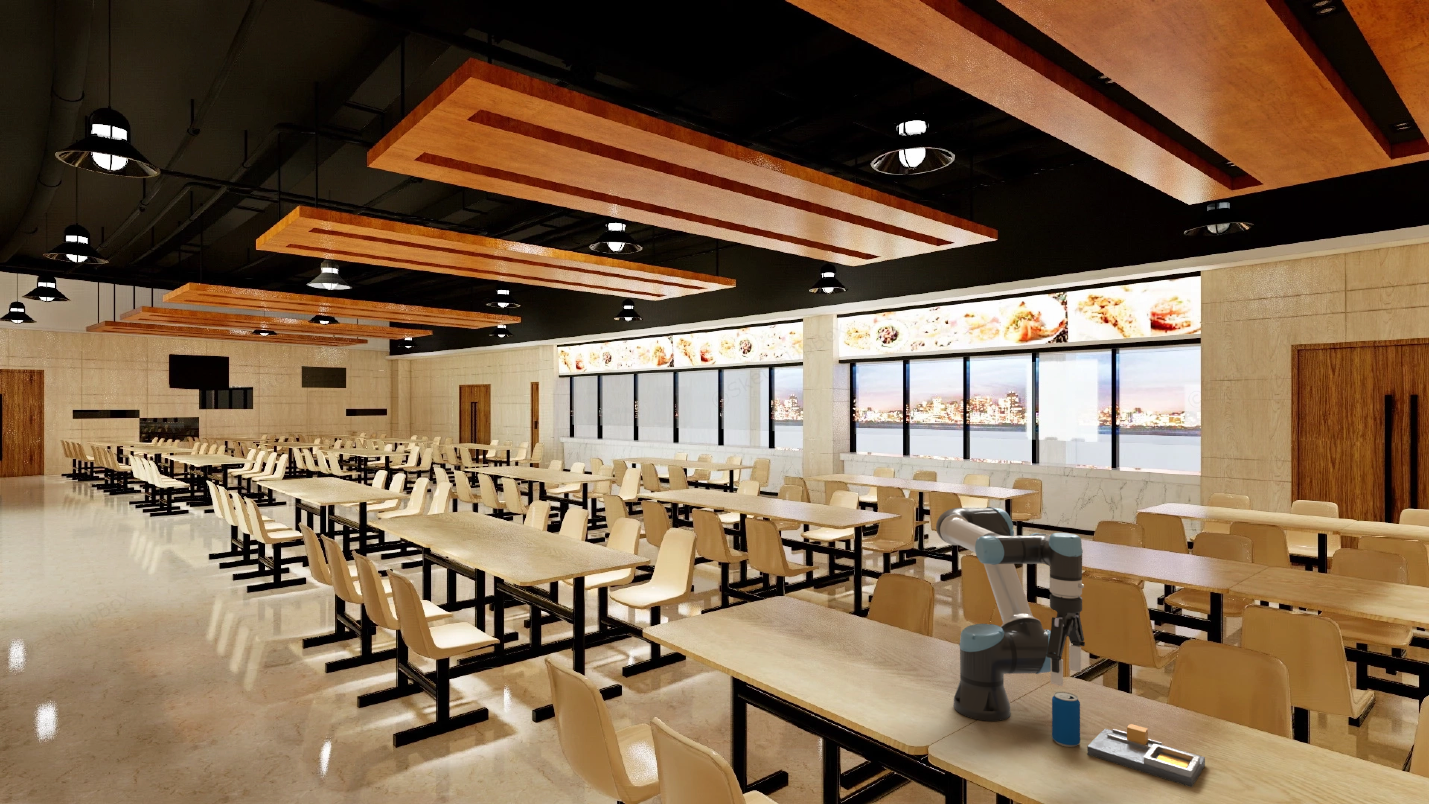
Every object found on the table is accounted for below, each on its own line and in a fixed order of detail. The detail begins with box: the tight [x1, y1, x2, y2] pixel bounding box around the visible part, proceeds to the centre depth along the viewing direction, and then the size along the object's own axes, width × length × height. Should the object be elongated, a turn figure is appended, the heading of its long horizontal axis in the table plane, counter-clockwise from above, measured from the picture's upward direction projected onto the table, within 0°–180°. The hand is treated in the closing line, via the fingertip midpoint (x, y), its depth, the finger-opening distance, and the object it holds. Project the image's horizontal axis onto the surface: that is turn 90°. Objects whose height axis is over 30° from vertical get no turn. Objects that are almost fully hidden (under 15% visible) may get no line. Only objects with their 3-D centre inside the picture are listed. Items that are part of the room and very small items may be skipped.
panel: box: [1086, 728, 1206, 788], centre depth 175 cm, size 22×14×4 cm, turn 46°
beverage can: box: [1051, 691, 1081, 748], centre depth 184 cm, size 6×6×12 cm
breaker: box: [1126, 723, 1149, 745], centre depth 180 cm, size 4×3×3 cm
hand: (1066, 677), depth 184 cm, fingers open, 13 cm apart
